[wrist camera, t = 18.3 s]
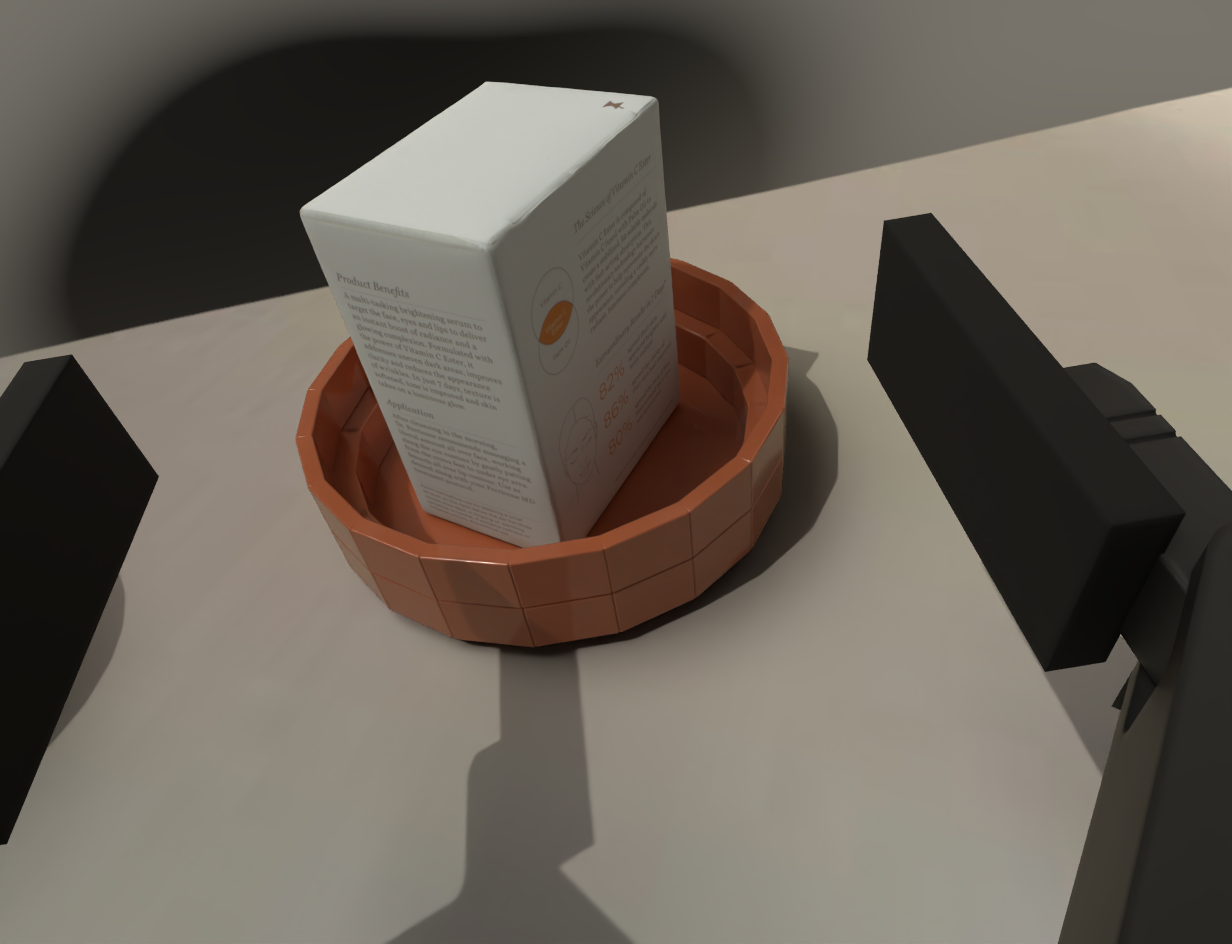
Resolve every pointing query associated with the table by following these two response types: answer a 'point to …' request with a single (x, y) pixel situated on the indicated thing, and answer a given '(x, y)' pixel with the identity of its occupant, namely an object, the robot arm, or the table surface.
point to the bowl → (626, 530)
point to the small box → (512, 302)
